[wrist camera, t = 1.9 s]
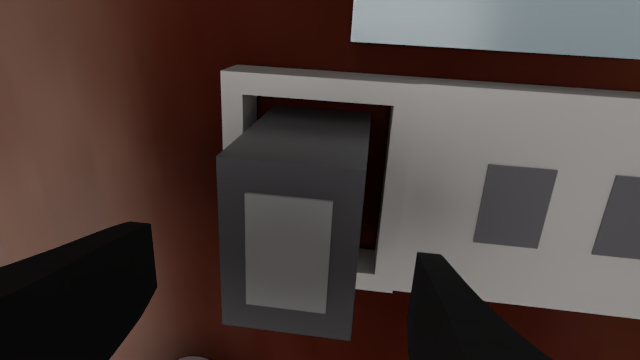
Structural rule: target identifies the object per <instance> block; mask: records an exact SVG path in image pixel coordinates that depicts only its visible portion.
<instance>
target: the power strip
mask: <svg viewBox="0 0 640 360" xmlns="http://www.w3.org/2000/svg"><path fill="white" fill-rule="evenodd" d="M257 96H269V97H282V98H295V99H309V100H322V101H335V102H349V103H362V104H376V105H389V106H391V111H390V120H389V129H388V139H387V148H386V157H385V166H384V175H383V184H382V193H381V202H380V211H379V220H378V229H377V238H376V247H375V250H370V249H360V248H359V255H358V265H357V276H356V287H355V289H362V290H370V291H379V292H387V293H392V291H393V290H394V291H403V292H411V289H412V283H413V276H414V269H415V263H416V256H417V252H424V253H433V254H441V255H442V256H443V257H444V258H445V259H446V260H447V261H448V262H449V264H450V265H451V266H452V267H453V268H454V269H455V271H456V272H457V273H458V274H459V275H460V276H461V277H462V279H463V280H464V281H465V282H466V283H467V284H468V285H469V286H470V287H471V288H472V290H473V291H474V292H475V293H476V294H477V295H478V296H479V297H480V298H481V299H482V300H483V301H488V302H497V303H506V304H514V305H523V306H531V307H540V308H548V309H557V310H566V311H574V312H583V313H591V314H600V315H608V316H617V317H626V318H634V319H640V92H632V91H617V90H603V89H588V88H573V87H559V86H544V85H529V84H515V83H500V82H485V81H470V80H456V79H441V78H426V77H412V76H397V75H382V74H368V73H353V72H338V71H323V70H309V69H294V68H279V67H265V66H250V65H235V66H232V67H229V68H227V69H224V70H221V103H222V134H223V150H224V149H225V148H226V147H227V146H229V145H230V144H231V143H232V142H233V141H234V140H235V139H237V138H238V137H239V136H240V135H241V134H242V133H244V132H245V131H246V130H247V129H248V128H249V127H250V126H252V125H253V124H254V123H255V122H256V121H257Z"/></svg>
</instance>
